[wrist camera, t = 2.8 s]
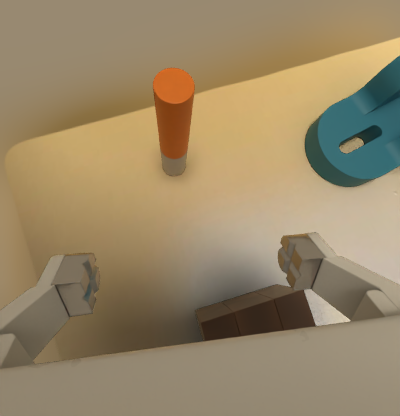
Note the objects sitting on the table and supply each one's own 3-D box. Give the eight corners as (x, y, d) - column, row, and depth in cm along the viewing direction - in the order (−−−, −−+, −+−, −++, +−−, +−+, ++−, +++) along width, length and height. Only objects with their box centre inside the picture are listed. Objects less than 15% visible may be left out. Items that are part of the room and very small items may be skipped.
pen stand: (239, 486, 24) (261, 558, 18) (194, 309, 27) (200, 322, 21) (329, 447, 25) (376, 501, 19) (277, 284, 28) (303, 289, 23)
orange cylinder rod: (165, 178, 30) (158, 106, 16) (160, 157, 30) (148, 70, 17) (188, 173, 30) (199, 99, 17) (182, 152, 31) (188, 64, 17)
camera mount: (388, 84, 36) (471, 14, 26) (432, 143, 35) (538, 94, 25) (289, 132, 33) (342, 73, 23) (334, 200, 31) (411, 170, 21)
